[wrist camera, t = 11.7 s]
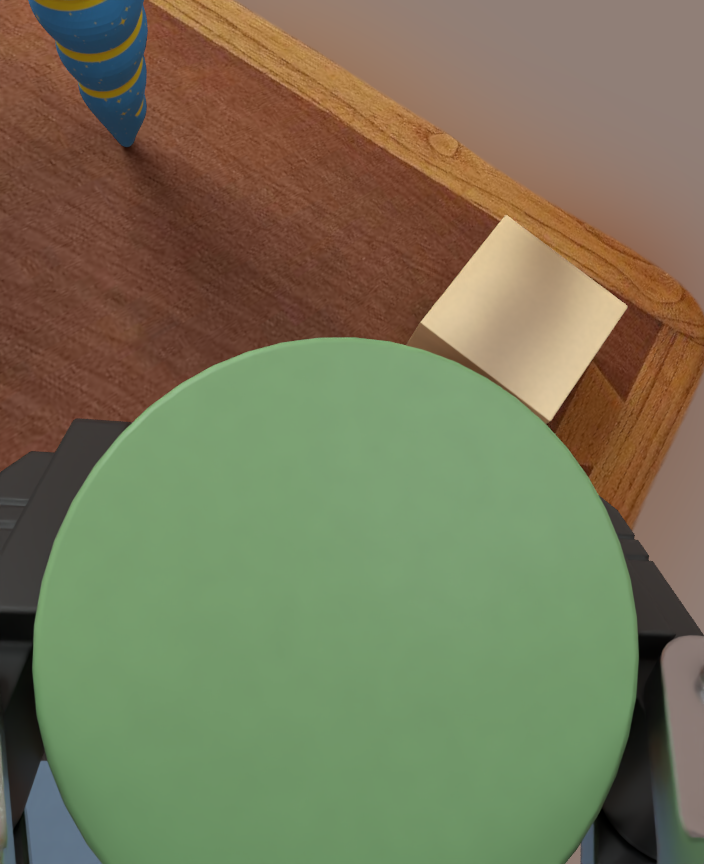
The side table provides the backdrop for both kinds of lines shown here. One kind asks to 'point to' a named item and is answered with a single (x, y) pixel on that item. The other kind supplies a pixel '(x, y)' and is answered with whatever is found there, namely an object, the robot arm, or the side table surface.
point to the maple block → (521, 319)
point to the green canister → (335, 623)
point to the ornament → (103, 56)
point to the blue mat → (53, 825)
